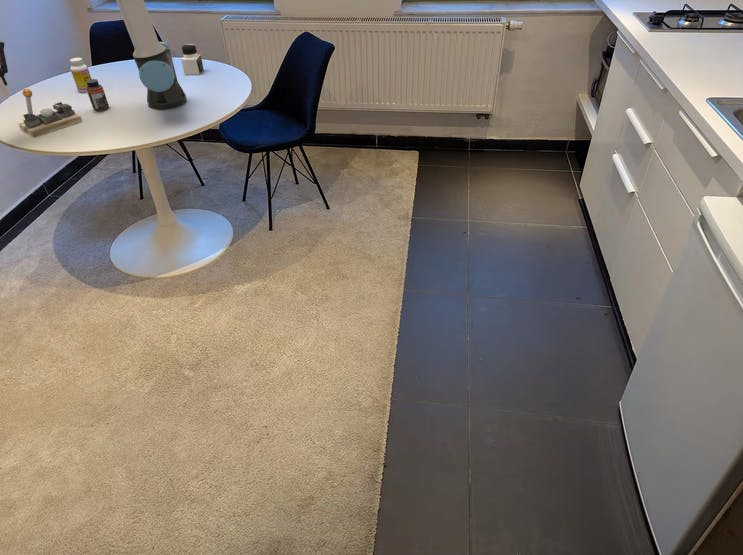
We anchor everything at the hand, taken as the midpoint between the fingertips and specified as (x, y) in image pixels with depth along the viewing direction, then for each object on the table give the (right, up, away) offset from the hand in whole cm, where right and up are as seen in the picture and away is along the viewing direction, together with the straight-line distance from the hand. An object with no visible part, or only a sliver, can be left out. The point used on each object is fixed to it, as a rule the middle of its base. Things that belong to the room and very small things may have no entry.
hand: (6, 95), depth 189 cm
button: (+7, -3, +13) cm, 15 cm away
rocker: (+11, +1, +16) cm, 19 cm away
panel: (+7, -6, +15) cm, 18 cm away
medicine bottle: (+46, +30, +59) cm, 81 cm away
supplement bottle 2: (+20, +4, +27) cm, 34 cm away
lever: (+3, -6, +9) cm, 11 cm away
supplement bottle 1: (+5, +17, +45) cm, 48 cm away
